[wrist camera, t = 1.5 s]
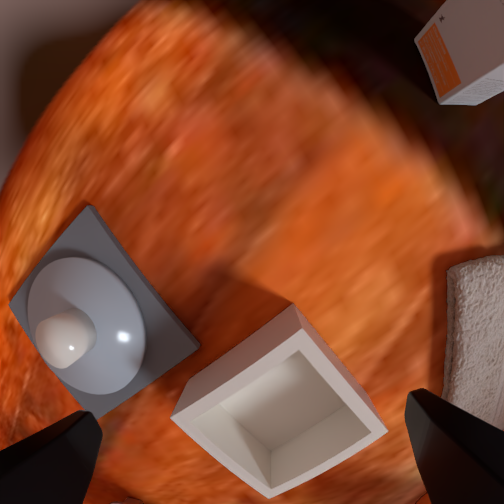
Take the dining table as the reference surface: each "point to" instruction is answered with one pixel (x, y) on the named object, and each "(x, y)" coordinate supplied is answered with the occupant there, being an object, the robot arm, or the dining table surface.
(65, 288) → the lid
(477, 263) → the washcloth
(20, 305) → the mat
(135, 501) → the screw
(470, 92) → the skincare box
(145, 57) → the dining table surface
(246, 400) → the dish
